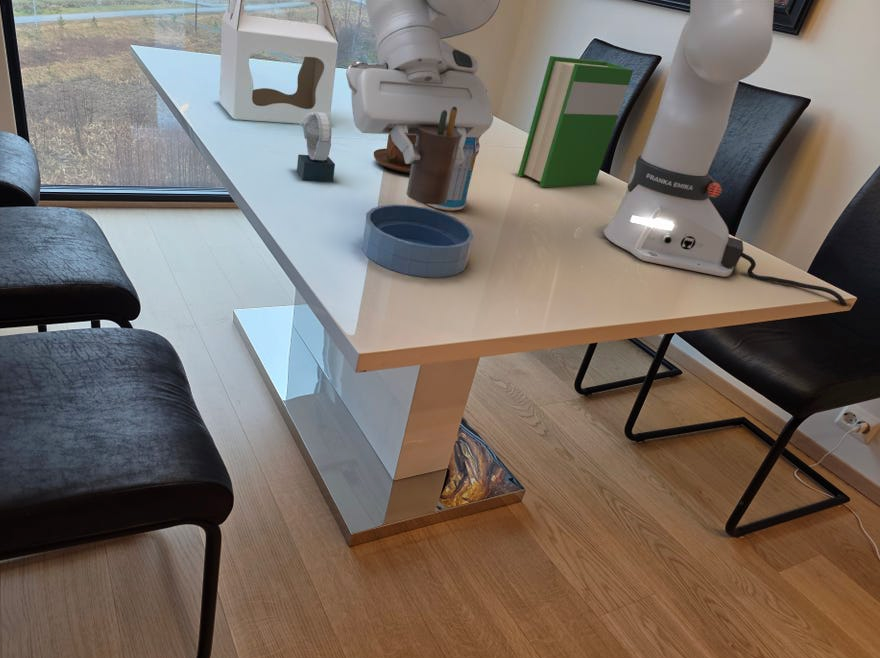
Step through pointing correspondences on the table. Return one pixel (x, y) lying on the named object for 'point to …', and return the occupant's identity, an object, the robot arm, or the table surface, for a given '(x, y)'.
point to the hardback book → (574, 121)
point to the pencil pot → (434, 161)
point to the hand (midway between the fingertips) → (436, 162)
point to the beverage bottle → (461, 177)
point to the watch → (316, 148)
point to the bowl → (416, 241)
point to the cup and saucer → (394, 155)
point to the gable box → (281, 37)
